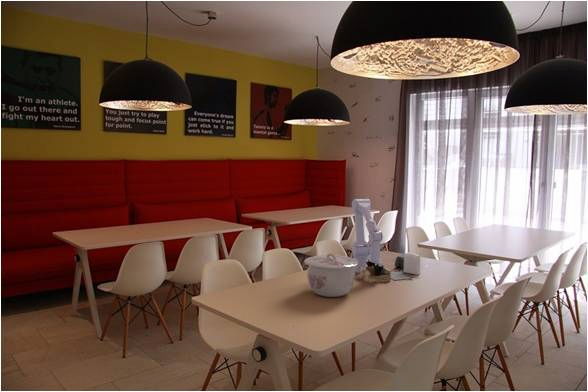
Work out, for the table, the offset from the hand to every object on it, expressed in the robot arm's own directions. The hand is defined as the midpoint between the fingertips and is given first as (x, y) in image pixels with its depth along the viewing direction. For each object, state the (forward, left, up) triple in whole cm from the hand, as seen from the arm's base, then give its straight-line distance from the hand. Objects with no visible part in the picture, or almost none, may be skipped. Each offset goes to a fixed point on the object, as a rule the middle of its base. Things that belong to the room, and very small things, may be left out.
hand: (374, 275), depth 262 cm
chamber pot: (+18, -34, -2) cm, 39 cm away
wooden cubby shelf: (0, 0, -2) cm, 2 cm away
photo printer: (-6, +28, -2) cm, 29 cm away
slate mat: (-1, +15, -2) cm, 15 cm away
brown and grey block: (0, 0, -2) cm, 2 cm away
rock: (-20, +34, -2) cm, 39 cm away
